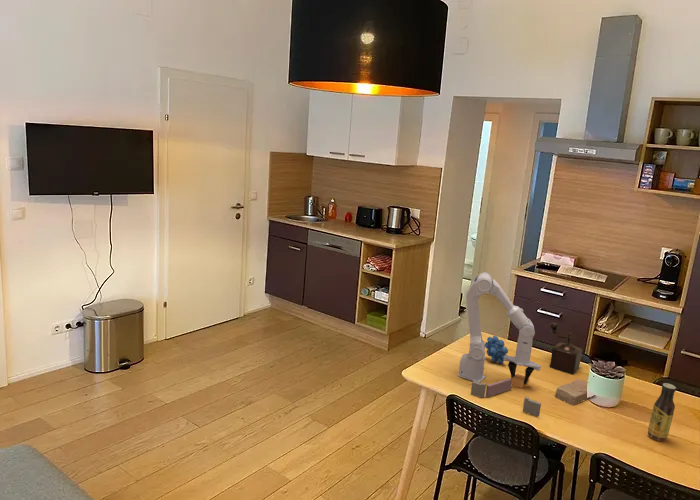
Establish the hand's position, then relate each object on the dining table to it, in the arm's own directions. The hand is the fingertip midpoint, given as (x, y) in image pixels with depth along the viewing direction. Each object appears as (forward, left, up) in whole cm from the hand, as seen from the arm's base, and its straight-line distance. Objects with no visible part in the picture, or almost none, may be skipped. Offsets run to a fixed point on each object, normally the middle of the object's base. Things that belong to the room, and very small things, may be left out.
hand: (519, 381), depth 223 cm
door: (-4, -13, -1) cm, 14 cm away
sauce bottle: (+51, -7, -2) cm, 52 cm away
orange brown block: (0, +2, -2) cm, 3 cm away
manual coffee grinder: (+8, +33, -2) cm, 34 cm away
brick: (+21, +6, -2) cm, 22 cm away
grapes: (-16, +15, -2) cm, 22 cm away
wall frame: (+1, -21, -1) cm, 21 cm away
